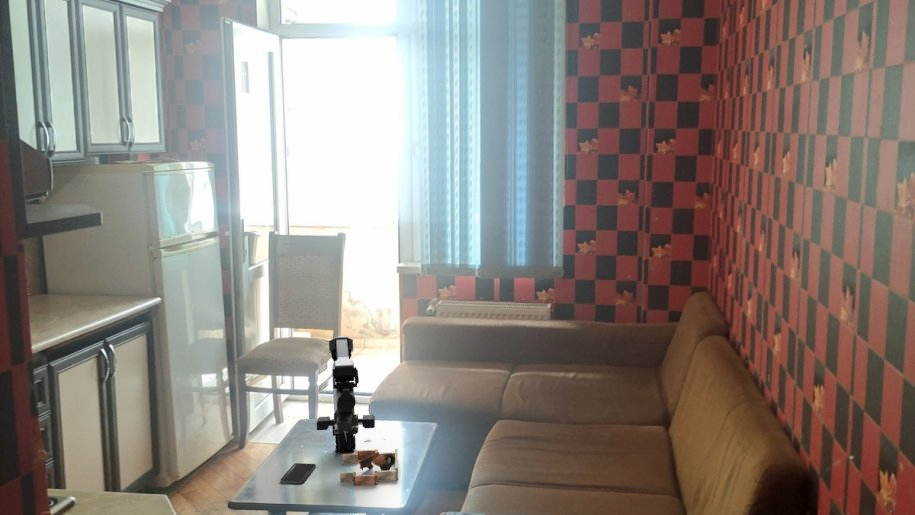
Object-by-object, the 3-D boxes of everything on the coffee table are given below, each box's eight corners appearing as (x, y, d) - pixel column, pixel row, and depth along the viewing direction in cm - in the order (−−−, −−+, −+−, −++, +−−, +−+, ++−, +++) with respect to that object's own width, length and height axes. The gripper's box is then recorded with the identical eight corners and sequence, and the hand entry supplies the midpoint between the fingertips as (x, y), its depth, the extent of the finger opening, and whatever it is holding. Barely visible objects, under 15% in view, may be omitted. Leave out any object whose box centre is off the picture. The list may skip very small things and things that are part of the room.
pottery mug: (372, 484, 263) (361, 461, 264) (364, 487, 271) (353, 464, 272) (404, 467, 269) (392, 444, 270) (394, 470, 277) (383, 448, 278)
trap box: (339, 486, 260) (339, 474, 260) (343, 459, 282) (343, 448, 282) (398, 483, 262) (397, 471, 261) (397, 457, 284) (397, 446, 283)
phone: (279, 481, 263) (294, 462, 278) (279, 484, 264) (294, 466, 278) (302, 482, 262) (317, 463, 277) (303, 485, 263) (317, 467, 277)
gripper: (314, 410, 259) (316, 458, 261) (373, 408, 261) (374, 455, 263) (317, 399, 270) (319, 445, 273) (374, 397, 272) (375, 443, 274)
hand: (346, 447), depth 270 cm, fingers closed
